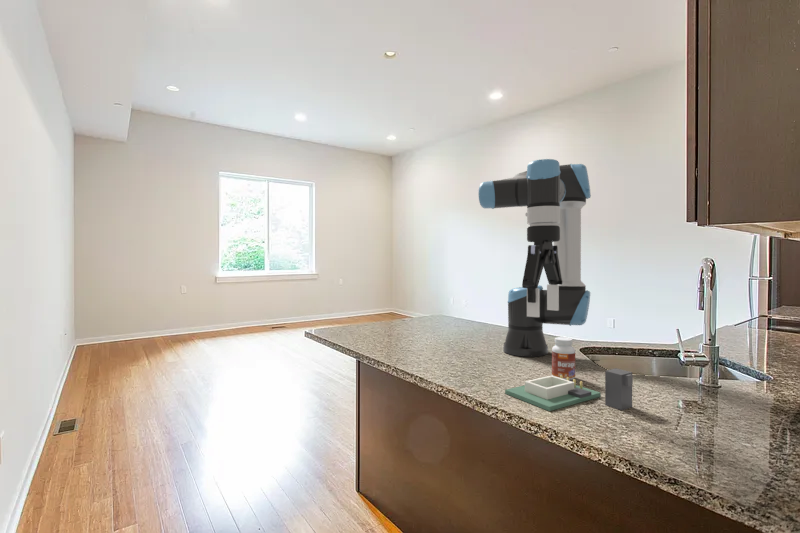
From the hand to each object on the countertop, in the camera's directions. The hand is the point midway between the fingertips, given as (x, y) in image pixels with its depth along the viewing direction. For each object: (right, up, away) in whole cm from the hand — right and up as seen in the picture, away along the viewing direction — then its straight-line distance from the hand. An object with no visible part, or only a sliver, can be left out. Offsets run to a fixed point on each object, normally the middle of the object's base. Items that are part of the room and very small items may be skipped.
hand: (543, 313), depth 104 cm
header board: (+3, -21, +3) cm, 21 cm away
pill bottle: (+11, -20, +17) cm, 29 cm away
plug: (+16, -21, -5) cm, 26 cm away
